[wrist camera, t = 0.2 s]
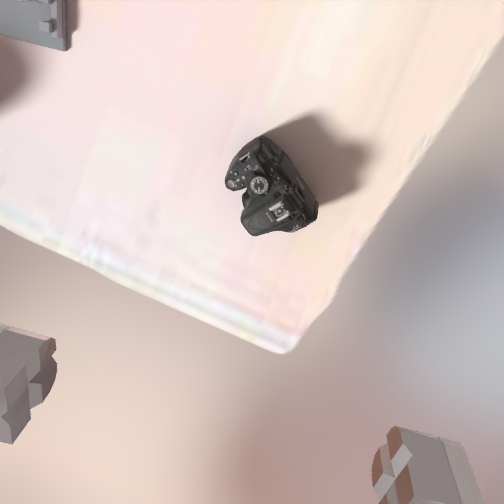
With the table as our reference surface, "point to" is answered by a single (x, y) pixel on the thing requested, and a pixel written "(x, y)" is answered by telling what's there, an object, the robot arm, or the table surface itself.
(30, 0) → the sleeve
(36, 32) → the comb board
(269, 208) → the camera
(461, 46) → the table surface
